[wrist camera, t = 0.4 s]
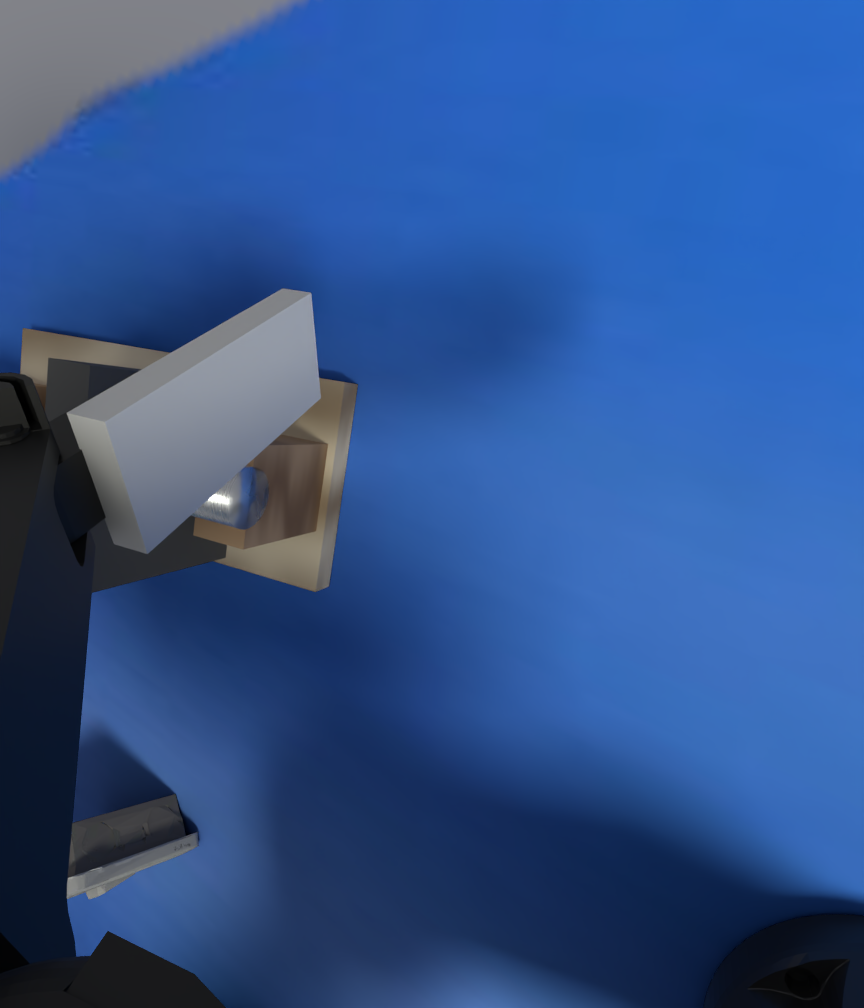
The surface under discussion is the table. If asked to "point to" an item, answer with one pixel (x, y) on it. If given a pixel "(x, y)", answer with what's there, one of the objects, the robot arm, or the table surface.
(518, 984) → the table surface
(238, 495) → the pipe
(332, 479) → the pipe stand
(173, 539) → the collar
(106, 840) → the electrical switch
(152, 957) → the robot arm
